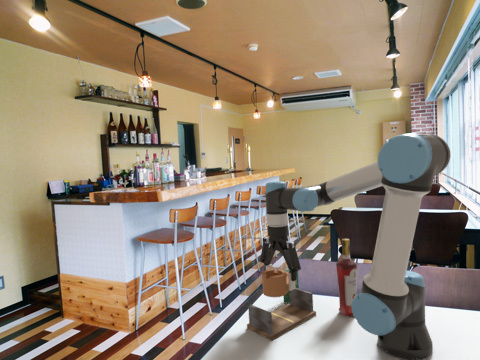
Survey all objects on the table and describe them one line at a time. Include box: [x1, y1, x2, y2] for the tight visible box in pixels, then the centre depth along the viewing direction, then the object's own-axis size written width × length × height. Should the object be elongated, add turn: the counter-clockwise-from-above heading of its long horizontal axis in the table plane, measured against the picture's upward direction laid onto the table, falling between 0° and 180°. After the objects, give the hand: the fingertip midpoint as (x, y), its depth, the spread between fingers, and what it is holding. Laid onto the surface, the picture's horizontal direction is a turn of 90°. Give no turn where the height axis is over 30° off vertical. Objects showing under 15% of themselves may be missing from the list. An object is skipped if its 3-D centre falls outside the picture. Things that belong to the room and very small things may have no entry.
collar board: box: [246, 288, 317, 341], centre depth 126 cm, size 12×24×8 cm, turn 132°
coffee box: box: [283, 267, 300, 304], centre depth 145 cm, size 8×3×13 cm, turn 138°
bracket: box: [261, 268, 296, 298], centre depth 125 cm, size 18×8×7 cm, turn 152°
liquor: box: [335, 238, 358, 317], centre depth 129 cm, size 7×7×28 cm
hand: (280, 285), depth 126 cm, fingers closed on bracket, 10 cm apart
